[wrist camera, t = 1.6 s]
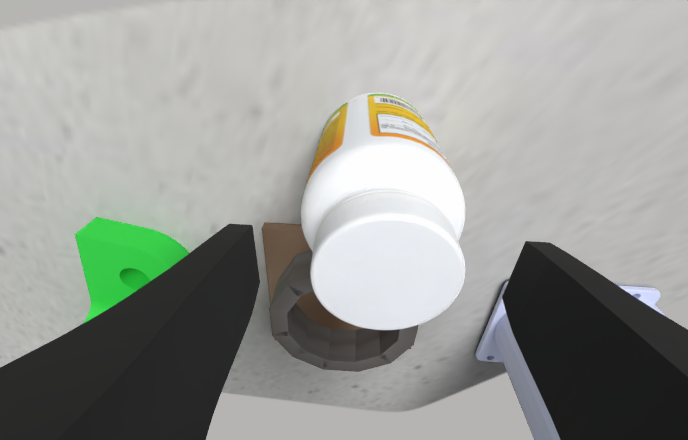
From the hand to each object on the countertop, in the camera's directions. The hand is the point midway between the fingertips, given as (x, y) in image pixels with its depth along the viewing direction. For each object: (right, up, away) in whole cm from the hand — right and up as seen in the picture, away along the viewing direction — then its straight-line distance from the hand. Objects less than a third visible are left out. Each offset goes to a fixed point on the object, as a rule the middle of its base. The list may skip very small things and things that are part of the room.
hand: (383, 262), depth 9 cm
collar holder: (-1, -3, +13) cm, 14 cm away
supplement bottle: (0, +5, +8) cm, 9 cm away
